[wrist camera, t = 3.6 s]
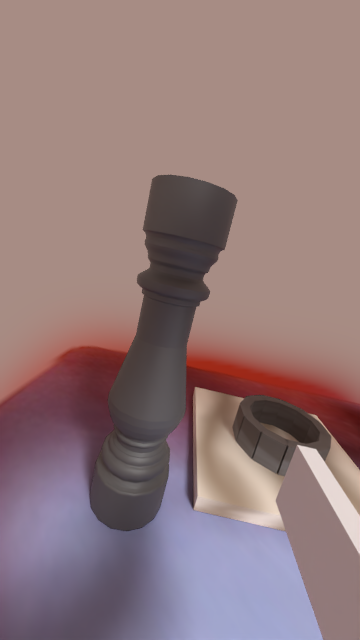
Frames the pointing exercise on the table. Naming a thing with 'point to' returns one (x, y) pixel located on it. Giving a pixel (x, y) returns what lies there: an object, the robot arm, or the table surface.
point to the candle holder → (159, 348)
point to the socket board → (239, 472)
